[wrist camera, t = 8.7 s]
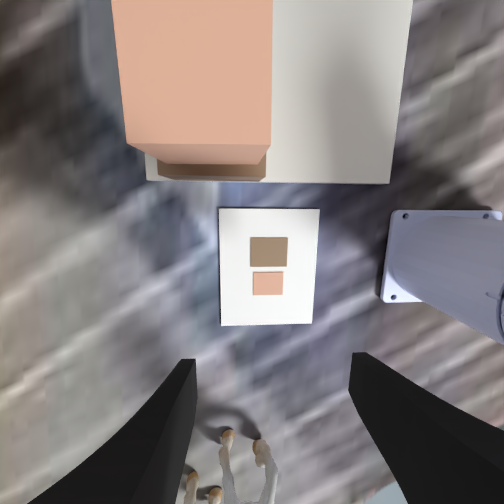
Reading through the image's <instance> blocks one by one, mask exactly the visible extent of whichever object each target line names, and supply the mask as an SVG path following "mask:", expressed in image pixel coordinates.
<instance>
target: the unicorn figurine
mask: <svg viewBox="0 0 504 504" xmlns="http://www.w3.org/2000/svg"><path fill="white" fill-rule="evenodd" d="M234 437H235V433H234V431H233V430H231V429H229V430H226V431H225V432H224V433H223V434H222V445H223V447H221V448H220V450H219V458H220V465H221V467H222V469H223V478H222V484H223V488H224V492H225V493H224V504H274V497H275V490H276V484H277V479H278V468H277V466H276V464H275V462H274V460H273V458H272V456H271V451H270V448H269V446H268V445H267V444H266V441H265V440H263V439H259V440H255V441H254V442H253V452H254V454H255V455H256V457H255V461H256V464H257V466H258V467H260V468H264V467H265V473H266V483H265V486H264V489H263V492H262V494H261V497H260V500H259V502H252V501H245V502H240V501H239V500H238V499H237V496H236V493H235V488H234V479H233V476H232V473H231V470H230V465H229V460H230V448H231V446H232V443H233V440H234ZM198 485H199V482H198V474H197V472H195V471H194V472H192V473H190V474H189V476H188V478H187V487H186V492H187V493H186V495H185V497H184V504H195V502H196V491H197V488H198ZM222 492H223V491H222V489H221V488H218V487H216V488H213V489H212V490H211V491H210V493H209V497H208V501H209V504H219V503H220V501H221V496H222Z"/></svg>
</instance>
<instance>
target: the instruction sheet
mask: <svg viewBox="0 0 504 504" xmlns="http://www.w3.org/2000/svg"><path fill="white" fill-rule="evenodd" d="M319 213H320V209H219V236H220V285H221V326H234V325H269V324H305V323H312V313H313V299H314V284H315V270H316V256H317V242H318V227H319Z"/></svg>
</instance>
